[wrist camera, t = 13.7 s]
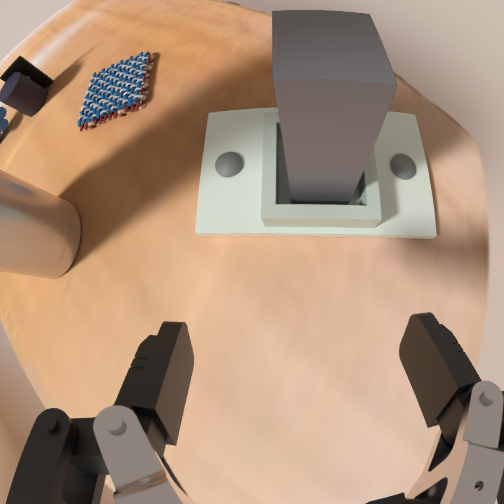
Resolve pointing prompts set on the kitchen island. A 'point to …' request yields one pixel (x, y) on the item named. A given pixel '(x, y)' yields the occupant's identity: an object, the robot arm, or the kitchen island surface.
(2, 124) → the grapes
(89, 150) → the kitchen island surface
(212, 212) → the bracket
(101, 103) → the woven mat
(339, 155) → the tall grey pillar
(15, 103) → the speaker
